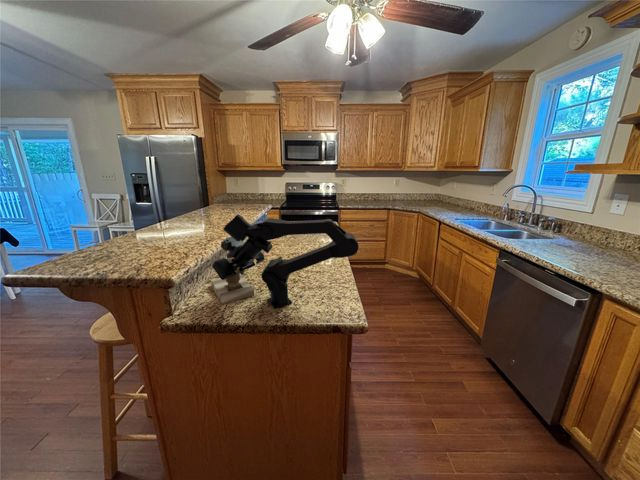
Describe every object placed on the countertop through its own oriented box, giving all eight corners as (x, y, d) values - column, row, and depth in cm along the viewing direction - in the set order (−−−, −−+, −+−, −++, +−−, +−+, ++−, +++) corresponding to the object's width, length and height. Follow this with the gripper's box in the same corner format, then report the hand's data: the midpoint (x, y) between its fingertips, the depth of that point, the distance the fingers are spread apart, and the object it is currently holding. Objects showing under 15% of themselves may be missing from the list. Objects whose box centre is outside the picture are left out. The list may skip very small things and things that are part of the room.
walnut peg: (242, 292, 89) (240, 260, 85) (229, 295, 86) (225, 263, 83) (238, 287, 93) (236, 256, 89) (225, 290, 90) (222, 259, 87)
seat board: (254, 295, 88) (253, 288, 87) (222, 304, 82) (221, 297, 82) (240, 279, 101) (239, 273, 100) (211, 285, 95) (210, 279, 94)
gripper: (256, 224, 89) (236, 249, 97) (212, 236, 73) (193, 264, 81) (274, 249, 88) (253, 271, 96) (234, 266, 72) (212, 292, 80)
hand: (229, 274), depth 88 cm, fingers closed on walnut peg, 5 cm apart
